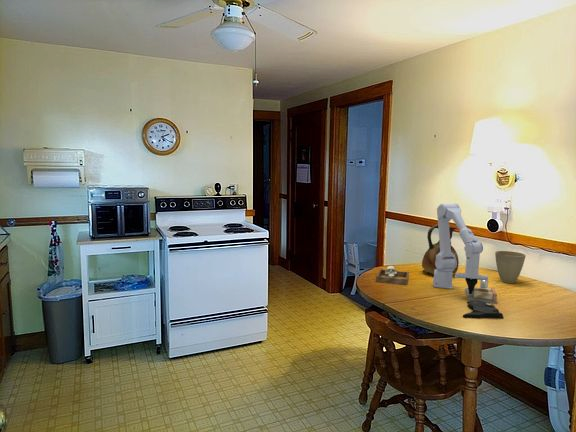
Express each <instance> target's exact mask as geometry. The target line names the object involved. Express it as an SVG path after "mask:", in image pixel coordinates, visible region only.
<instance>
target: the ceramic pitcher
mask: <svg viewBox="0 0 576 432" xmlns="http://www.w3.org/2000/svg"><path fill="white" fill-rule="evenodd" d="M436 228H438V223H437V224H434V225H432V226H431V227H429V229H428V232H427V237H426V238H427V242H428V249H427V250H426V251H425V253H424V254H423V257H422V260H421V267H422V269H423V270H424V271H425V272H427V273H429V274H432V275H434V269H437V268H436V266H435V261H436V255H437V254H438V253H440V242H439V240H438V241H437V242H436V243H434V244H433V242H432V233H433V231H434V229H436ZM456 229H458V227H457V226H456V225H454V226H453V225H449V231H450V244H451V252H452V253H453V254H454V255H455V258H456V261H457V266H456V268H455V269H454V271H453V275H454V274H455V273H458V269H459V265H460V263H459V261H460V260H459V255H458V253H457V250H456V249H455V248H454V246H452V240H451V239H452V238H453V232H454V231H455V230H456ZM444 258H448V257H444Z"/></svg>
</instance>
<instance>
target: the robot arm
mask: <svg viewBox="0 0 576 432" xmlns="http://www.w3.org/2000/svg"><path fill="white" fill-rule="evenodd" d="M436 212H437V216H436V217H437V224H438V227H437V228H438V241H439V242H440V253H438V254H437V255H436V261H435V266H436V268H437V269H434V274H433V279H432V283H433V288H441V289H448V290H450V289H451V290H453V289H454V286H453V275H454V274H453V271H454V269H455V268H456V266H457V261H456V258H455V255H454V254H453V253H452V252H451V246H452V243H451V244H450V231H449V226H450V221H451V220H452V221H453V223H454V224H455V226H456V227H457V229H458V230H459V236H460V238H461V241H462V242H463V244H464V247H463V250H464V252H465V257H466V259H465V272H464V273H459V272H456V273H455V275H454V277H455V279H465V282H466V285H467V288H468V290H469V294H472V292H473V289H474V287H476V285H477V284H478V281H481V280H485V281H488V282H489V276H488V275H481V274H479V270H480V269H479V268H480V258H481V253H483V251H484V246H483V243H482V242H481V241H479V239H477V238H476V237H475V235H474V232H473V230H471V229H470V228H468V227H467V226H466V225H467V224H466V223H465V220H464V218H463V216H462V209H461V207H460V205H459V203H440V204H439V205H438V206H437V208H436ZM444 257H448V258H444Z"/></svg>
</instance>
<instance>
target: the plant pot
mask: <svg viewBox="0 0 576 432" xmlns="http://www.w3.org/2000/svg"><path fill="white" fill-rule="evenodd" d="M494 255H495V262H496V268H497V273H498V277H499V280H500V281H501V282H503V283H507V284H516V282H517V281H518V279H519V276H520V275H521V271H522V270H523V266H524V263H525V261H526V256H527V255H526V254H525V253H522V252H518V251H512V250H511V251H510V250H509V251H508V250H497V251H495V252H494Z"/></svg>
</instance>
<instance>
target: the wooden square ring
mask: <svg viewBox="0 0 576 432" xmlns="http://www.w3.org/2000/svg"><path fill="white" fill-rule="evenodd" d="M472 294H473V296H474V298H480V299H489V300H493V293H492V291H491V288H488V289H487V288H480V287H476V286H475V287H474V289H473V292H472Z"/></svg>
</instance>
